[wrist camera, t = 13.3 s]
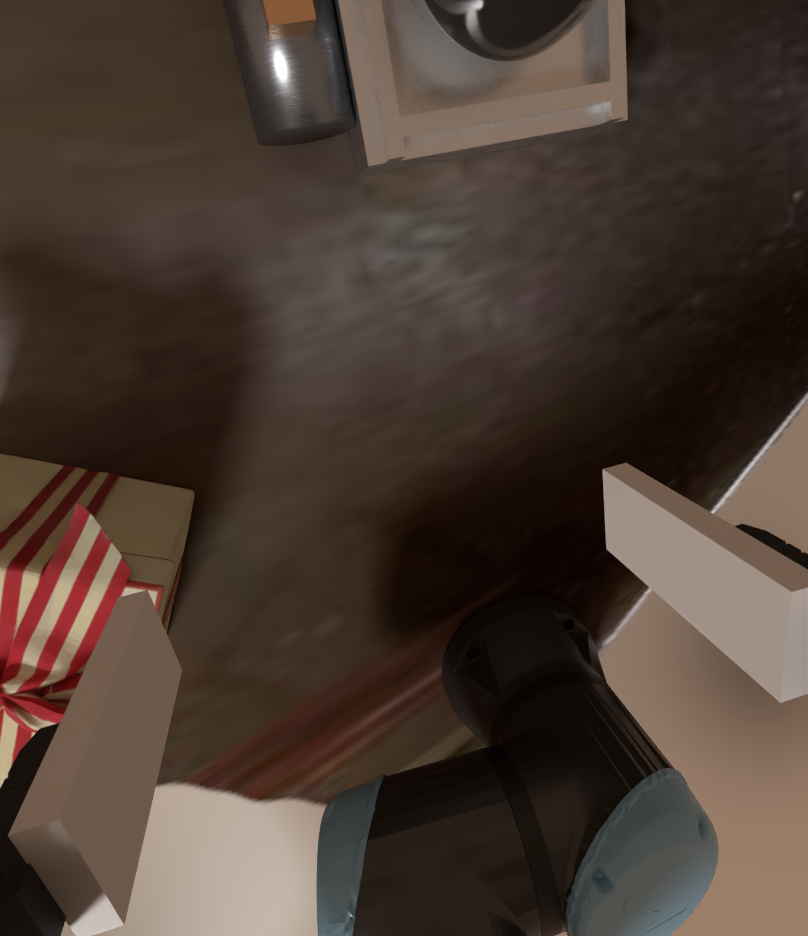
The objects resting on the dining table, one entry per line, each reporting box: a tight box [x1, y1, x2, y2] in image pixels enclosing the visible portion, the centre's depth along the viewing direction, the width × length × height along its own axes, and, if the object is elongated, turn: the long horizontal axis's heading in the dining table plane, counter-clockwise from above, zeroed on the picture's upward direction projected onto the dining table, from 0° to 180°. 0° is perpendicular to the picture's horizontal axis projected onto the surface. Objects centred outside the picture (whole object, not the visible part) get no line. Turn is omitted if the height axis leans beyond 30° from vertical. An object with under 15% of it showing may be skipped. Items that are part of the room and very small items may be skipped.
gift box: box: [0, 453, 195, 788], centre depth 35 cm, size 17×18×17 cm
